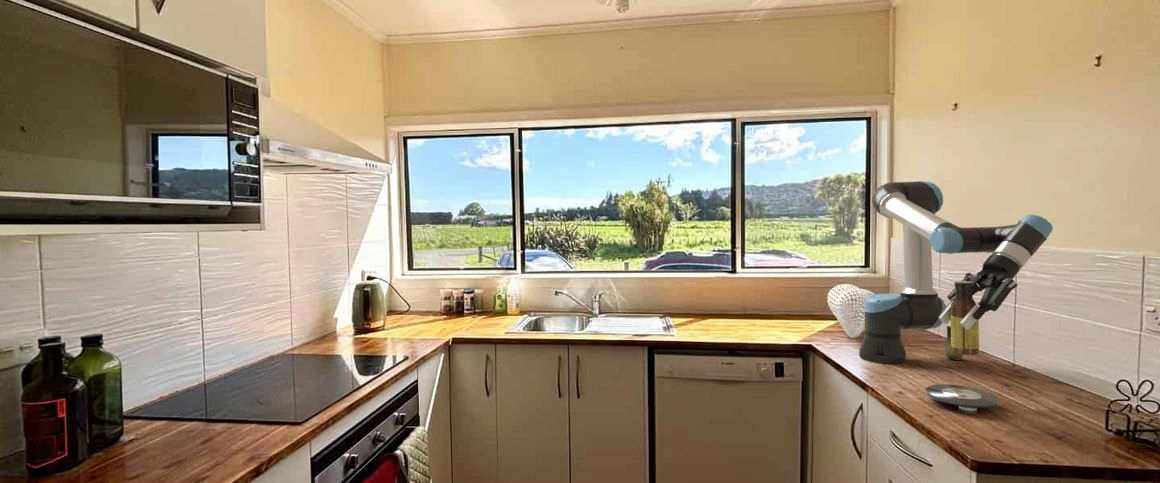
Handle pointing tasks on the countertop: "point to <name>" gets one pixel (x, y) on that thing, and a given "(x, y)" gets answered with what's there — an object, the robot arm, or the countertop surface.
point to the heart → (839, 313)
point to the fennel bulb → (948, 347)
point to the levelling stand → (962, 397)
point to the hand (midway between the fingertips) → (953, 323)
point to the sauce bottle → (960, 307)
